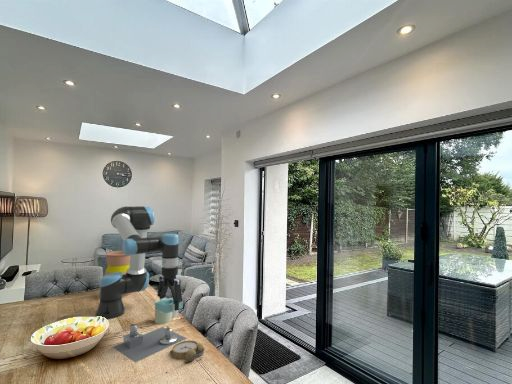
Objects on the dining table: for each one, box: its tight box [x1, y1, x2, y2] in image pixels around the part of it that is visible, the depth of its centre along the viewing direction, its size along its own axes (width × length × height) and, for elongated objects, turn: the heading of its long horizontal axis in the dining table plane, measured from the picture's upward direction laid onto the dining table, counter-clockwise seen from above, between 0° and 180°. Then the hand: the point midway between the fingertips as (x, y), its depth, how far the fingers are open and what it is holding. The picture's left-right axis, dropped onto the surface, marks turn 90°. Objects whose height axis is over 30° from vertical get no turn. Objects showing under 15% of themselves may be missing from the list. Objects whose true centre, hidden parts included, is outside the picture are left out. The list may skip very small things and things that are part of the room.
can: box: [154, 297, 173, 325], centre depth 153 cm, size 9×9×12 cm
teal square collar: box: [154, 297, 184, 313], centre depth 131 cm, size 9×9×3 cm
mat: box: [112, 326, 188, 363], centre depth 128 cm, size 20×26×1 cm
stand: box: [122, 323, 144, 349], centre depth 127 cm, size 6×6×8 cm
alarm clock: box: [169, 340, 205, 363], centre depth 119 cm, size 11×5×15 cm
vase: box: [103, 250, 132, 298], centre depth 201 cm, size 22×22×30 cm
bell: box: [159, 325, 177, 345], centre depth 130 cm, size 8×8×6 cm
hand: (169, 314), depth 130 cm, fingers closed on teal square collar, 9 cm apart
